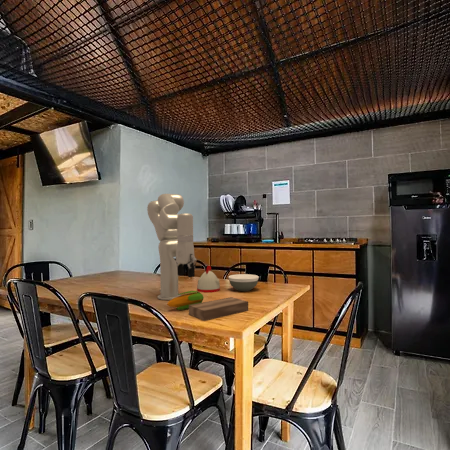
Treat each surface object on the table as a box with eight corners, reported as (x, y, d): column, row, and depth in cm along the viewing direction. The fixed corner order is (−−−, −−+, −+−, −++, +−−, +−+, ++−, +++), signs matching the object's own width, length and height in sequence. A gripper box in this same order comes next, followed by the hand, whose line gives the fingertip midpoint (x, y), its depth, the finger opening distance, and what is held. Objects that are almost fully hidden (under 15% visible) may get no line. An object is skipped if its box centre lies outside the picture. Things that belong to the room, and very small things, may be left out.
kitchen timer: (222, 288, 188) (222, 264, 189) (216, 293, 175) (216, 267, 175) (201, 287, 192) (201, 264, 192) (193, 292, 179) (193, 266, 179)
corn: (207, 289, 146) (171, 295, 133) (208, 305, 146) (172, 313, 132) (197, 288, 152) (163, 294, 138) (198, 304, 151) (163, 311, 138)
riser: (188, 314, 131) (188, 305, 131) (231, 305, 146) (231, 297, 146) (204, 320, 121) (204, 310, 121) (248, 310, 136) (248, 301, 136)
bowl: (234, 286, 196) (234, 273, 196) (262, 288, 189) (262, 274, 189) (223, 291, 179) (223, 277, 179) (254, 293, 172) (254, 279, 172)
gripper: (169, 239, 148) (170, 275, 147) (188, 239, 134) (188, 278, 133) (183, 239, 152) (183, 273, 152) (202, 239, 139) (202, 276, 138)
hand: (185, 275), depth 142 cm, fingers open, 9 cm apart
